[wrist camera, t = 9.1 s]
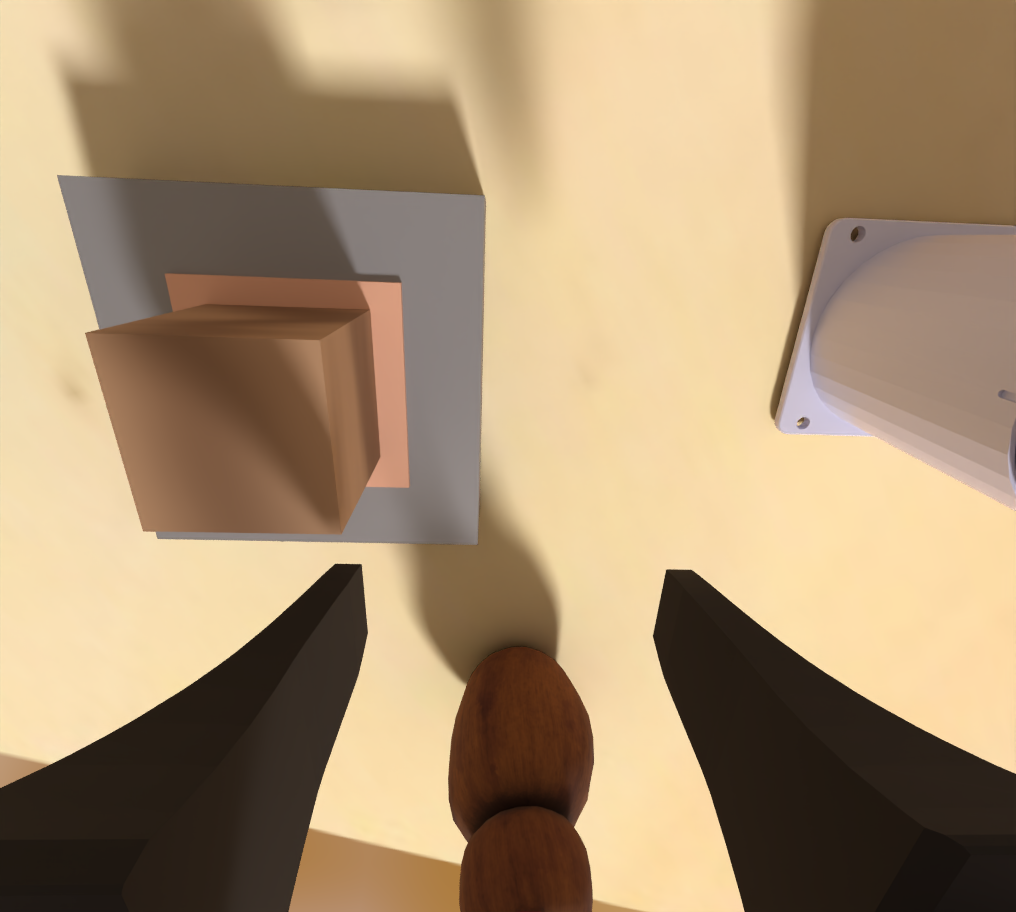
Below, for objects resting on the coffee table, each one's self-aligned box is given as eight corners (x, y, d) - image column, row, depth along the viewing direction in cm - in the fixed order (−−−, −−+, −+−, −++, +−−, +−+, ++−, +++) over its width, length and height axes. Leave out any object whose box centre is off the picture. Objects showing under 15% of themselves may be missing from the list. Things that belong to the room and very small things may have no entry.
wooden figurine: (484, 612, 25) (474, 1088, 11) (592, 642, 26) (707, 1115, 12) (441, 706, 27) (388, 1191, 13) (540, 731, 28) (586, 1207, 14)
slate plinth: (485, 201, 17) (484, 195, 15) (479, 506, 22) (477, 547, 19) (127, 185, 17) (50, 174, 14) (199, 500, 22) (154, 541, 19)
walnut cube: (370, 309, 16) (319, 340, 11) (380, 457, 18) (341, 534, 13) (205, 304, 16) (84, 332, 11) (234, 453, 18) (143, 531, 13)
